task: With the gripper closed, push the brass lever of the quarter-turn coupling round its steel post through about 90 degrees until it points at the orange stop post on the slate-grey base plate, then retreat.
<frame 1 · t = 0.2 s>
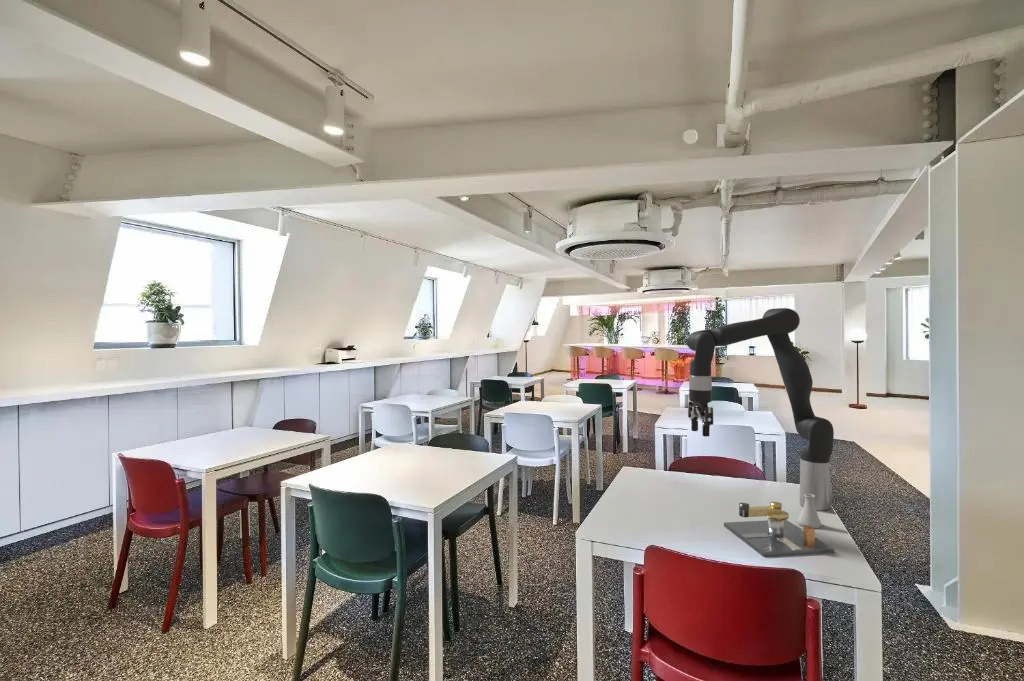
hand: (700, 433, 177), 29 cm above the table, fingers open, 8 cm apart
lock base: (775, 538, 156), on the table
coupling: (763, 509, 156), point 9 cm above the table, hinge at 0.0°
flask: (809, 525, 167), on the table
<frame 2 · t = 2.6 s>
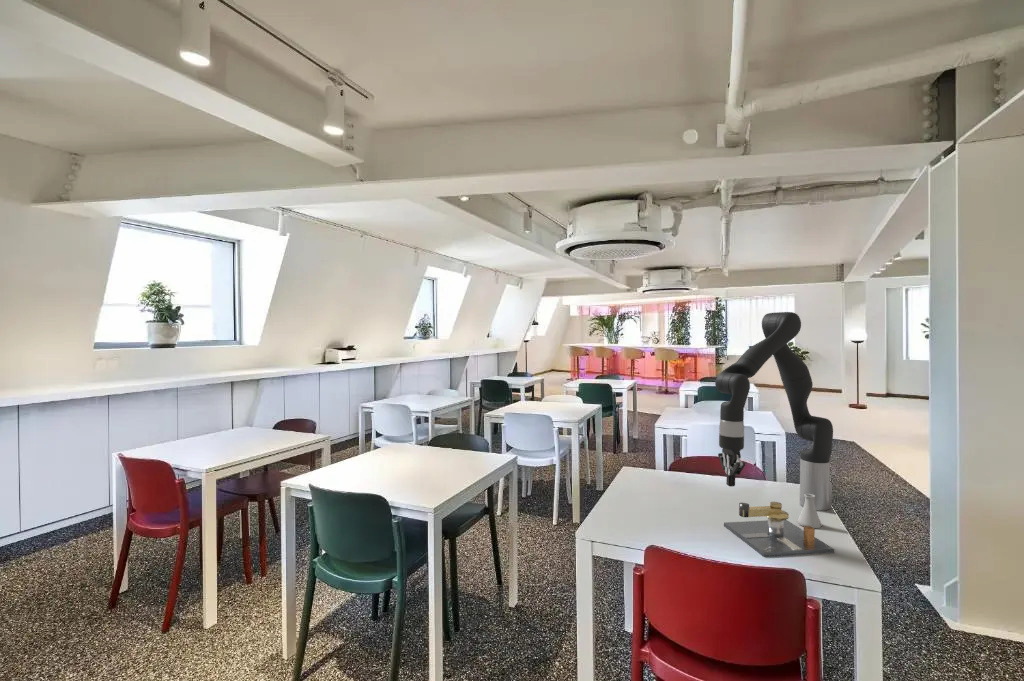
hand: (730, 485, 164), 14 cm above the table, fingers closed
nothing on the table moved.
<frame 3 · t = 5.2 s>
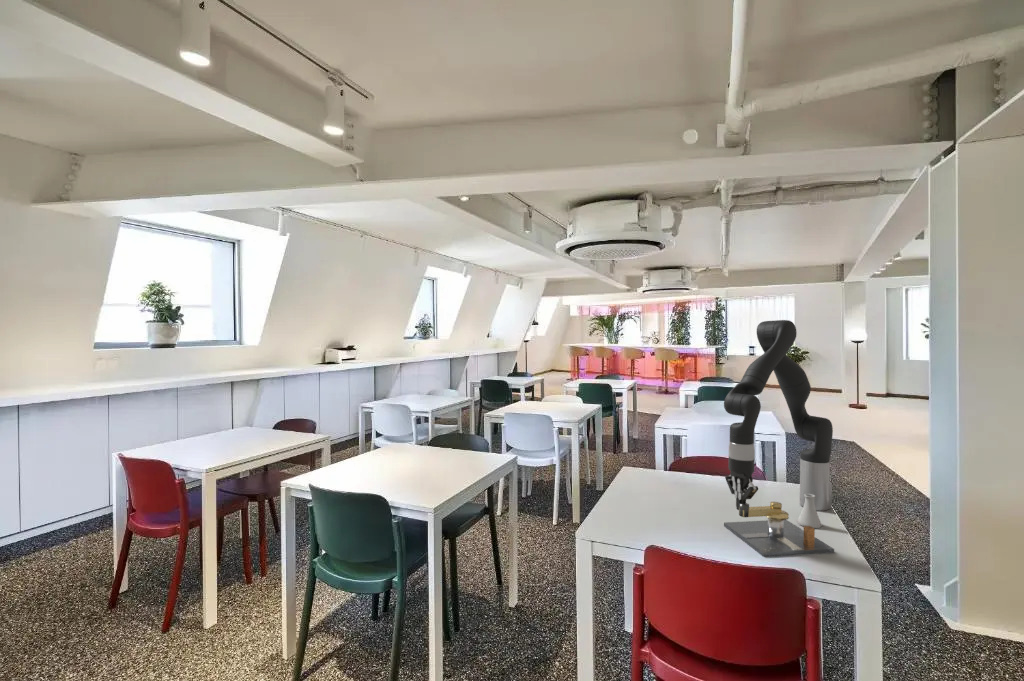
hand: (740, 510, 159), 8 cm above the table, fingers closed
coupling: (763, 509, 156), point 9 cm above the table, hinge at 0.0°, touching gripper
everything else where it was.
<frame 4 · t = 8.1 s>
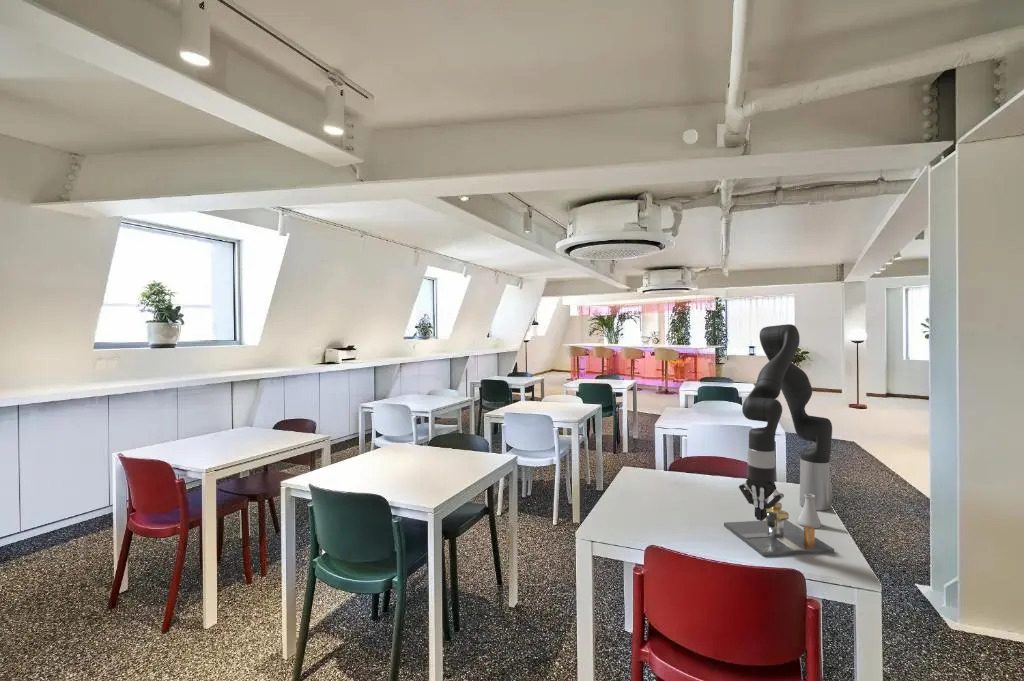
hand: (760, 519, 151), 8 cm above the table, fingers closed
coupling: (774, 513, 153), point 9 cm above the table, hinge at 50.0°, touching gripper
everything else where it was.
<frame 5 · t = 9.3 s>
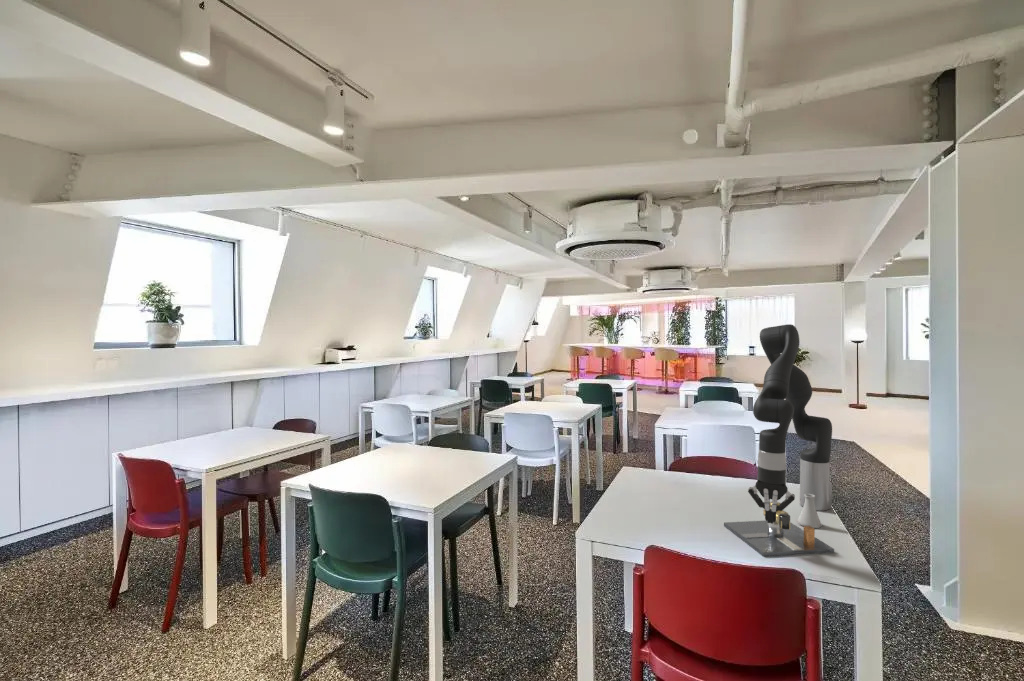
hand: (770, 522, 149), 8 cm above the table, fingers closed
coupling: (779, 514, 152), point 9 cm above the table, hinge at 69.0°, touching gripper
everything else where it was.
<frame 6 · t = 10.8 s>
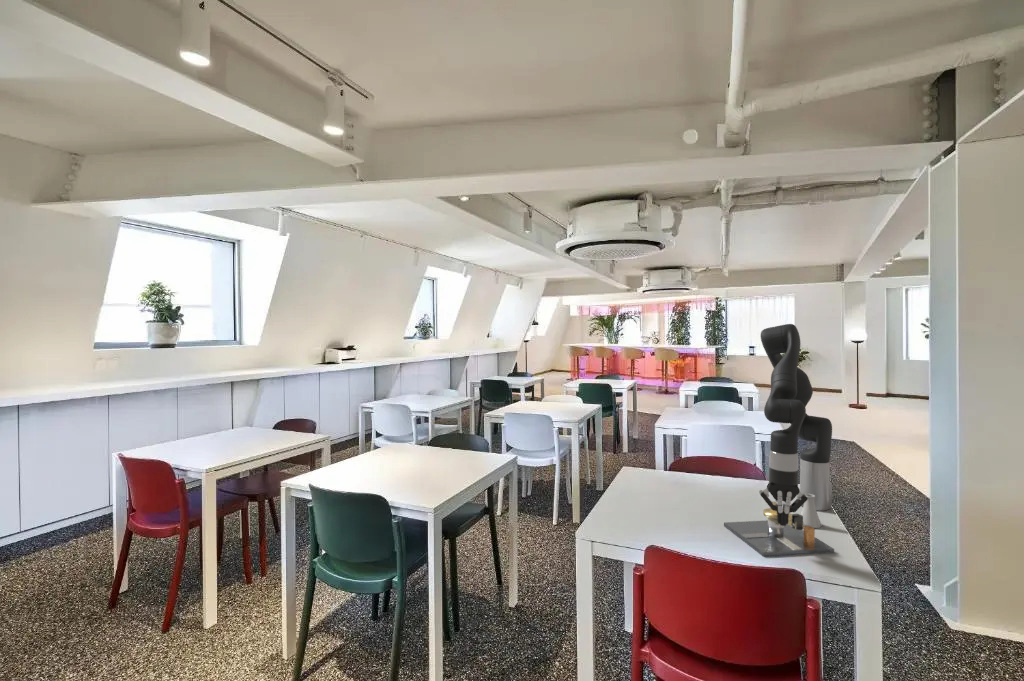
hand: (782, 524, 147), 8 cm above the table, fingers closed
coupling: (784, 514, 152), point 9 cm above the table, hinge at 88.3°
everything else where it was.
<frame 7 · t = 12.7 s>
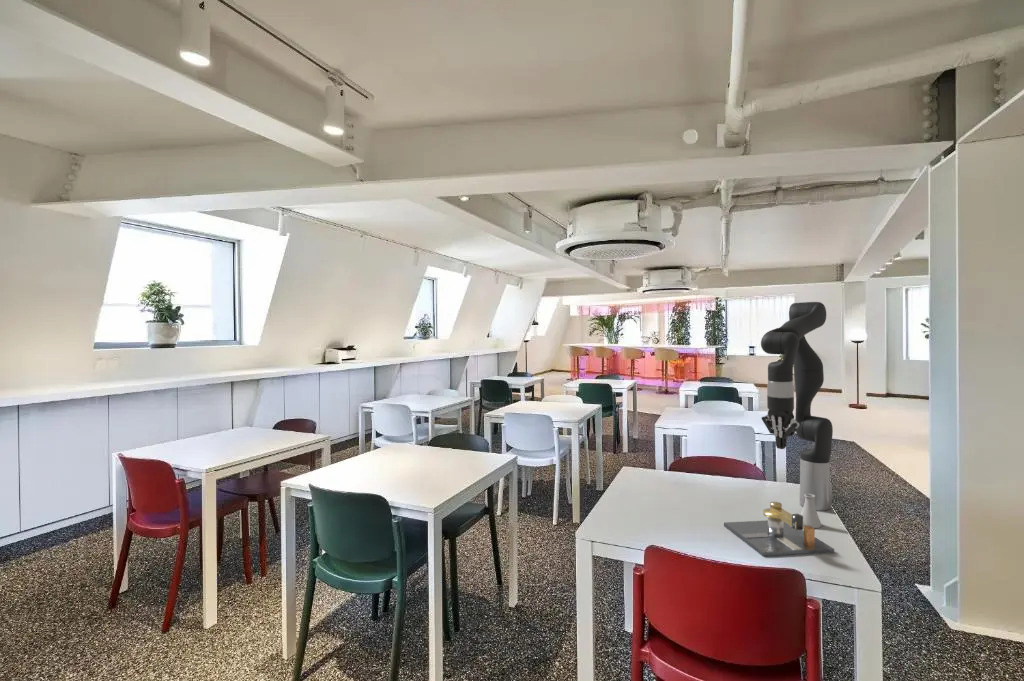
hand: (780, 448, 160), 28 cm above the table, fingers closed
nothing on the table moved.
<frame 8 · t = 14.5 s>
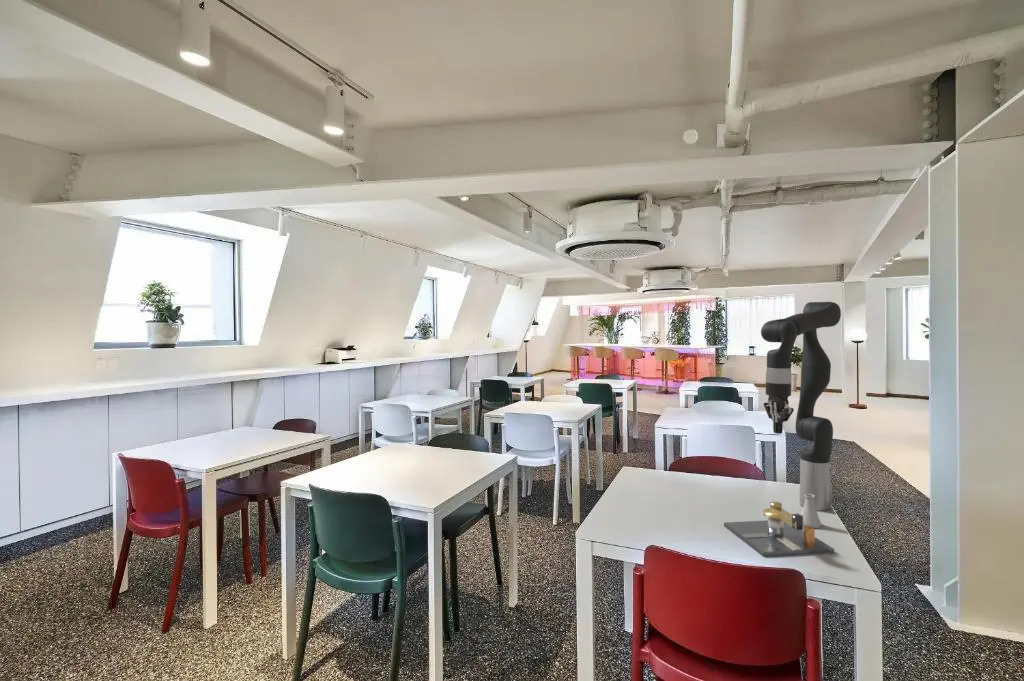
hand: (777, 433, 166), 31 cm above the table, fingers closed
nothing on the table moved.
at the end: coupling at +88° (first picture: +0°); flask moved 0.3 cm from its start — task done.
